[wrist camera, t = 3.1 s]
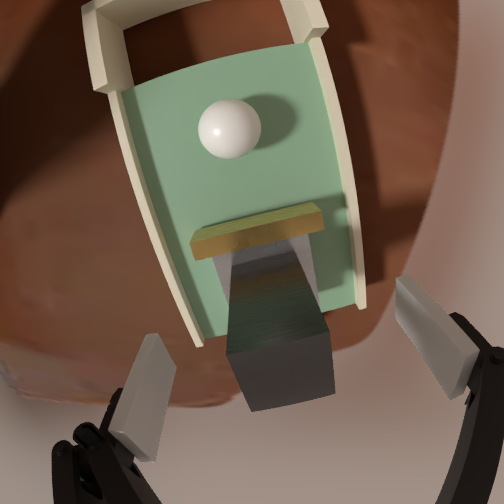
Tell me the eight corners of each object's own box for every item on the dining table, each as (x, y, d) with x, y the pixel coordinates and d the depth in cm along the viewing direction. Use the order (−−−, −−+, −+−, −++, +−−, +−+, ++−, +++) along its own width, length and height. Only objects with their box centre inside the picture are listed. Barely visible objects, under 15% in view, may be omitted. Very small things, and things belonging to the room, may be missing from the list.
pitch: (200, 325, 25) (193, 364, 20) (109, 26, 15) (81, 6, 10) (354, 289, 24) (375, 322, 20) (284, -21, 14) (295, -54, 9)
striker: (238, 352, 23) (239, 458, 14) (195, 229, 19) (155, 319, 10) (331, 331, 23) (369, 429, 14) (311, 201, 19) (376, 267, 9)
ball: (210, 163, 18) (203, 169, 14) (196, 111, 16) (185, 105, 13) (265, 149, 18) (270, 151, 14) (251, 96, 16) (254, 87, 13)
